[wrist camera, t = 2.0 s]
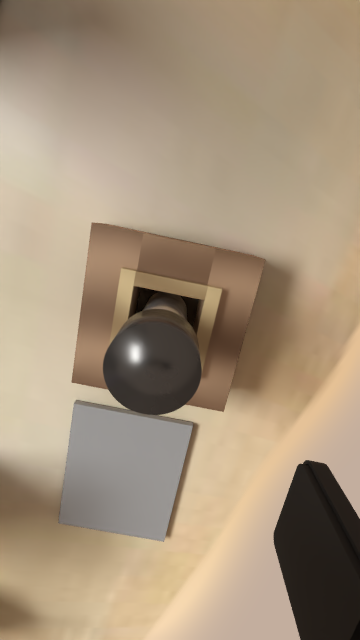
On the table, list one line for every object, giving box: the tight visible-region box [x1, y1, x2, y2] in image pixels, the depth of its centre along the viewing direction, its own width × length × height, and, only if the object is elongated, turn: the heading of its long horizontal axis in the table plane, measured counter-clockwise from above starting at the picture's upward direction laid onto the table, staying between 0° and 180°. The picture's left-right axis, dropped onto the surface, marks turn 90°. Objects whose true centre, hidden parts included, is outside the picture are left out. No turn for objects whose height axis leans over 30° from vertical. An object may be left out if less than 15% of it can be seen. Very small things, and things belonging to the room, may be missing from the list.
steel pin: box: [103, 291, 202, 415], centre depth 21 cm, size 5×5×12 cm
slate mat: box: [58, 400, 193, 542], centre depth 31 cm, size 14×11×1 cm
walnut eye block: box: [72, 223, 265, 412], centre depth 25 cm, size 12×12×5 cm
